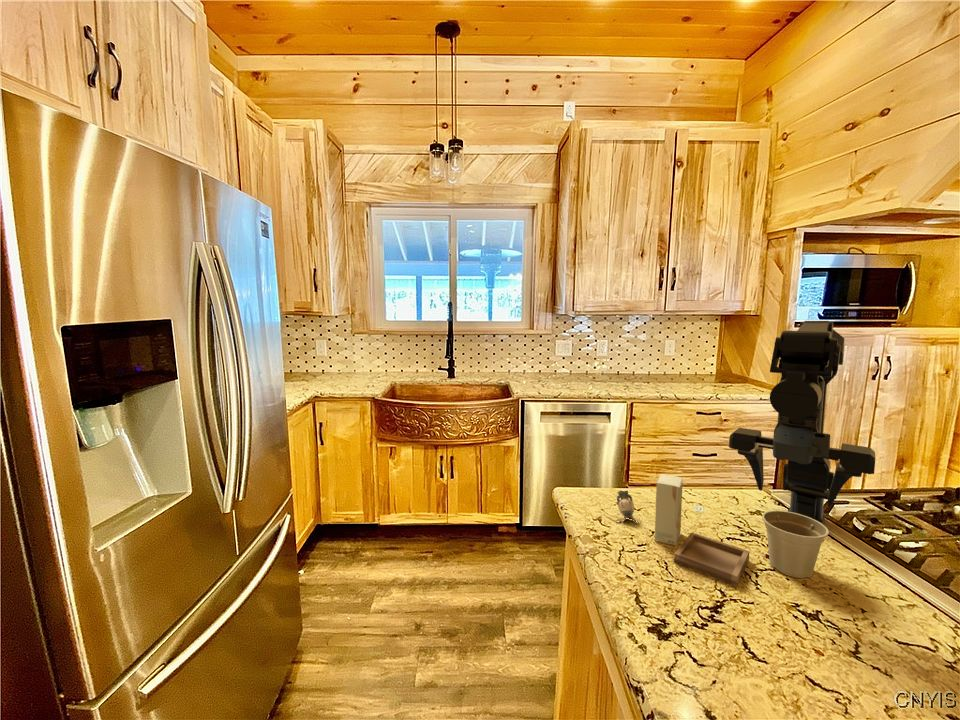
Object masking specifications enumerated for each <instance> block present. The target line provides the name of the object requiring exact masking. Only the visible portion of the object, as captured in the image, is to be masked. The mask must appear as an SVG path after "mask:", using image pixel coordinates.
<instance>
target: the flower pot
mask: <svg viewBox="0 0 960 720" xmlns="http://www.w3.org/2000/svg"><path fill="white" fill-rule="evenodd" d="M761 518H762V521H763V523H764V527H765V529H766V537H767V545H768V556H769V557H768V560H769V564H770V565H771V566H772V568H775V569H777V570H778V571H779V572H780V573H781V574H784V575H786V576H790V577H791V578H792V577H793V578H798V579H804V578H807V577H808V578H811V577H812V576H813V574H814V569H815V566H816V563H817V559H818V557H819V553H820V550H821V546H822V544H823V543H824V542H825V539H826V538H827V537H828V535H829V533H830V531H829V529H828V528H827V526H826V525H825V524H824V525H823V524H822V523H820V522H818V521H816V520H814V519H812V518H810V517H807V516H804V515H801V514H797V513H793V512H788V510H787V511H785V510H779V509H778V510H775V509H774V510H768V511H764V512H763V513H762V515H761Z"/></svg>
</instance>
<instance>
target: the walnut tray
mask: <svg viewBox="0 0 960 720" xmlns="http://www.w3.org/2000/svg"><path fill="white" fill-rule="evenodd" d="M673 558H674V559H673V564H676V565H679V566H682V567H685V568H687V569H690V570H693V571H695V572H697V573H699V574H700V573H701V574H703V575H706V576H709V577H710V578H713V579H716V580H719V581H721V582H724V583H727V584H728V585H731V586H734V587H735V588H736V587H737V586H738V584H739V582H740V580H741V578H742V576H743V574H744V572H745V570H746V567H747V565H748V563H749V562H750V550H747V549H743V548H741V547H738V546H734V545H731V544H728V543H726V542H722V541H719V540H716V539H712V538H710V537H707V536H703V535H700V534H698V533H694V532H690V533H689V534H688V535H687V537H686V539H684V541H683V542H682V543H681V545H680V546H678V548H677V550H676V551H675V552H674V557H673Z"/></svg>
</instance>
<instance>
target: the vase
mask: <svg viewBox="0 0 960 720" xmlns="http://www.w3.org/2000/svg"><path fill="white" fill-rule="evenodd" d="M616 501H617V502H616V503H617V508H618V510H619V513H620V514H621V515H622V516H623V519H622V518H617V519H614V520H615V521H616V522H618V521H621V522H620V523H622V521H623V520H624V519H626V518H629V519H632V521H633V520H634V521H635V522H634V521H633V523H634V524H635V523H637V522H638V524H639V523H640V522H639V520H640V518H635V517H634V516H633V514H634V512H635V506H634V501H633V497H632V495H631V494H629V491H628V490H624V491H623V490H618V491H617V496H616ZM636 520H637V522H636ZM615 521H614V522H615ZM624 521H625V520H624ZM624 521H623V522H624Z"/></svg>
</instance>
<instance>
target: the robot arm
mask: <svg viewBox="0 0 960 720" xmlns="http://www.w3.org/2000/svg"><path fill="white" fill-rule="evenodd" d="M773 346H774V347H773V351H772V356H771V357H772V358H771V362H770V367H769V373H771V374H772V373H774V374H775V373H776V374H781V376H780V381H779V382H778V383H776V385H774V386H773V388H772V389H771V391H770V393H769V402H770V404H771V407H772V408H773V409H774V411H776V412H777V423H776V426H775V428H774V429H773V437H768V436H767V437H766V436H762V430H757V429H751V428H745V427H738V428H737V429H735V430H734V431H733V432H732V433H730V435H729V440H728V441H729V442H728V448H729V449H730V450H731V449H732V450H735V451H736V450H737V454H738V455H741V456H743V457H744V458H745V459H746V460H747V462H748V464H749V466H750V468H751V471H752V474H753V476H754V479H755V482H756V487H757V489H758V490H759V491H760V492H761V491H763V490H764V481H765V480H764V479H765V478H764V452H763V451H764V449H769V450H772V456H773V457H774V458H775V459H776V460H779V461H784V460H786V461H787V463H786V462H785V463H784V466H783V471H782V491H788V492H790V501H789V502H790V503H789V507H788V510H787V512H793V513H797V514H801V515H804V516H807V517H810V518H812V519H814V520H816V521H818V522H820V523H822V524H823V525H824V526H825V521H826V515H824V505H825V504H824V502H825V500H827V507H828V508H831V507H832V506H833V503H835V500H837V496H838V495H839V493H840V491H841V490H842V488H843V487H844V485H845V484H846V483H847V482H848V481H849V480H850V479H851V478H852V477H855V478H861V477H862V476H863V474H866V475H875V469H876V451H875V450H873V449H872V448H871V447H868V446H862V445H855V444H851V443H850V444H849V443H843V442H842V443H841V447H840V448H835V447H831V434H829V433H825V432H824V431H825V429H824V428H825V419H826V417H825V416H826V405H827V404H826V403H827V391H828V384H829V383H830V382H831V381H832V380H833V379H834V378H835V376H837V374H838V371H839V366H843V365H844V356H845V337H844V336H842V335H841V334H840V333H838V332H837V331H836V330H835V329H834V322H833V321H829V320H804V321H800V322H799V327H798V329H797V330H783V331H782V332H781V333H780V336H776V338H775V340H774V345H773ZM831 461H837V463H836V467H835V471H834V472H833V471H831Z"/></svg>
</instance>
